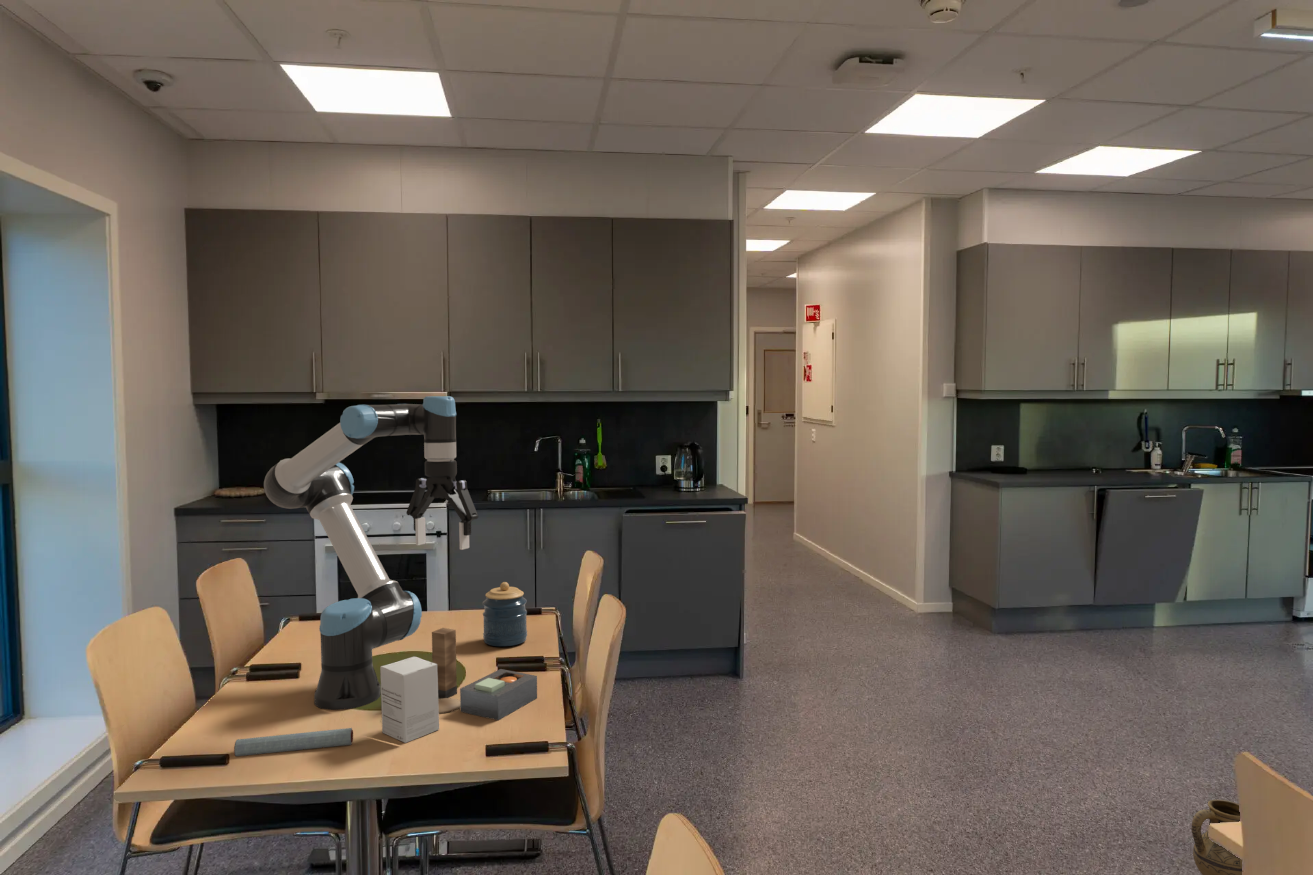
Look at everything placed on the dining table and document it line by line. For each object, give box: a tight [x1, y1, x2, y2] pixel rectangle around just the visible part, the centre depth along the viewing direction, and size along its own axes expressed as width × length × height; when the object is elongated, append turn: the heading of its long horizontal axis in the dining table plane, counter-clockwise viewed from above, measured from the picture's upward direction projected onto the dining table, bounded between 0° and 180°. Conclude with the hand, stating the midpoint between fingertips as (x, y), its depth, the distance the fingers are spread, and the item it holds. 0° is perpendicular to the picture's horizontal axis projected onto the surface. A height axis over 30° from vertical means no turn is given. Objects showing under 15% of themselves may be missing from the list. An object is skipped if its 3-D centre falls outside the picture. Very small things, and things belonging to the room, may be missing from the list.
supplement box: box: [379, 656, 440, 744], centre depth 179 cm, size 9×9×15 cm
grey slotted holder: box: [459, 668, 538, 721], centre depth 194 cm, size 11×15×6 cm
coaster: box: [438, 697, 461, 715], centre depth 193 cm, size 8×8×1 cm
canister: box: [482, 581, 528, 647], centre depth 244 cm, size 13×13×18 cm
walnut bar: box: [431, 627, 458, 699], centre depth 200 cm, size 4×4×16 cm
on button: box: [475, 678, 505, 693], centre depth 191 cm, size 5×5×2 cm
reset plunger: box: [500, 677, 517, 683], centre depth 197 cm, size 4×4×2 cm
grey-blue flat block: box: [233, 727, 354, 757], centre depth 173 cm, size 23×7×3 cm, turn 104°
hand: (442, 546), depth 199 cm, fingers open, 13 cm apart
